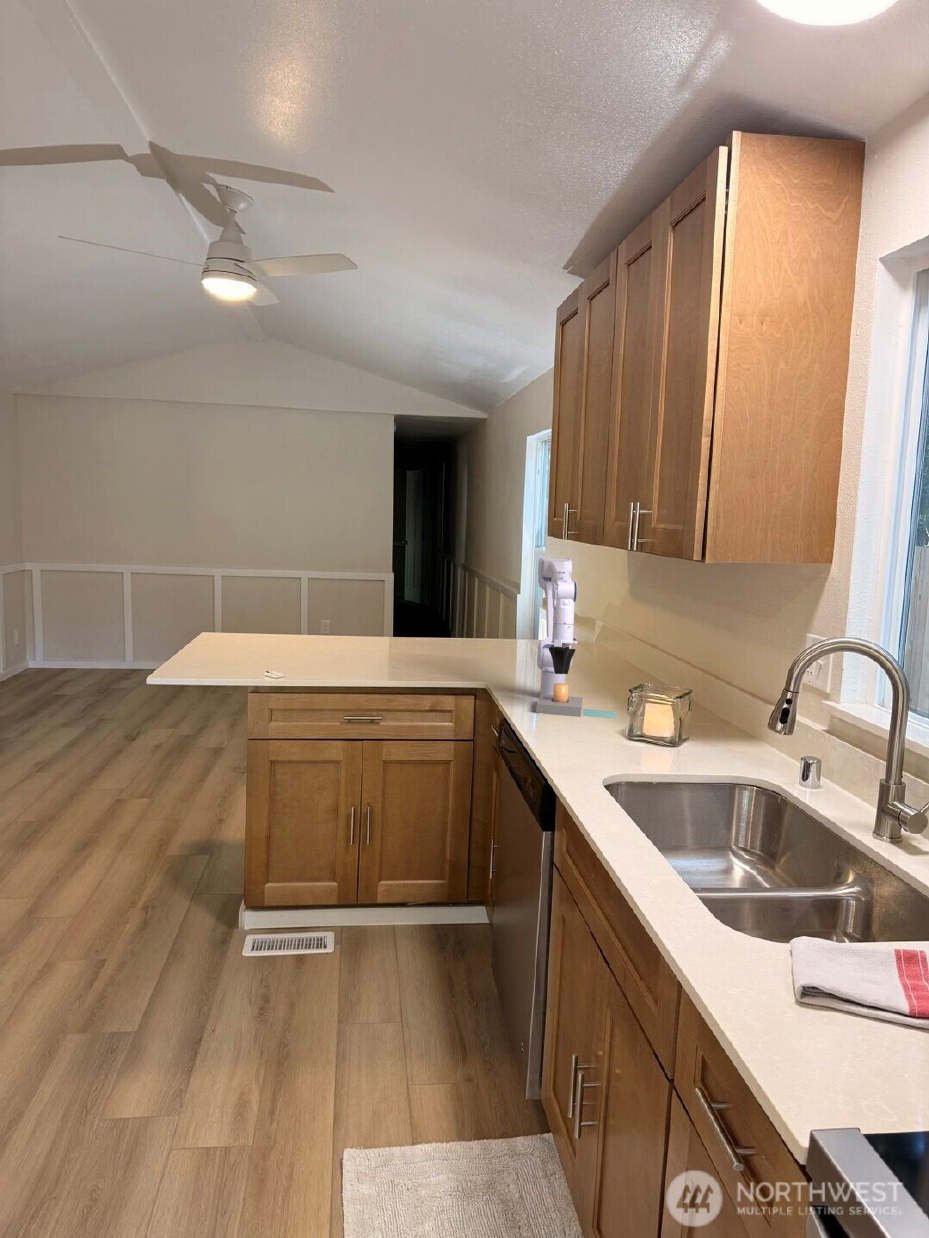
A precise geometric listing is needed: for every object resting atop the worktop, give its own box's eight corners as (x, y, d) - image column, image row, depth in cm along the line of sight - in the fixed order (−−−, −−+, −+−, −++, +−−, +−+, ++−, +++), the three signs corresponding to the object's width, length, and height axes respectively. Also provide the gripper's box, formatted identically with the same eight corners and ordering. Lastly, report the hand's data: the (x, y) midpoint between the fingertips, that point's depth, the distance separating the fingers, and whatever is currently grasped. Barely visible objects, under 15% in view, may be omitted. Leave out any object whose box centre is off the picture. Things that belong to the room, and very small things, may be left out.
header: (539, 704, 244) (540, 693, 243) (581, 707, 242) (582, 697, 241) (535, 714, 230) (536, 703, 230) (580, 718, 228) (581, 707, 228)
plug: (552, 707, 238) (554, 682, 237) (567, 708, 237) (568, 683, 237) (551, 710, 234) (553, 685, 233) (566, 711, 233) (568, 686, 233)
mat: (583, 710, 238) (583, 708, 238) (615, 713, 237) (616, 711, 237) (582, 717, 229) (582, 715, 229) (616, 720, 228) (616, 718, 228)
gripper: (573, 623, 226) (571, 674, 225) (581, 626, 240) (580, 674, 239) (547, 622, 228) (545, 673, 227) (557, 625, 242) (555, 673, 241)
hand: (561, 674), depth 233 cm, fingers open, 7 cm apart
